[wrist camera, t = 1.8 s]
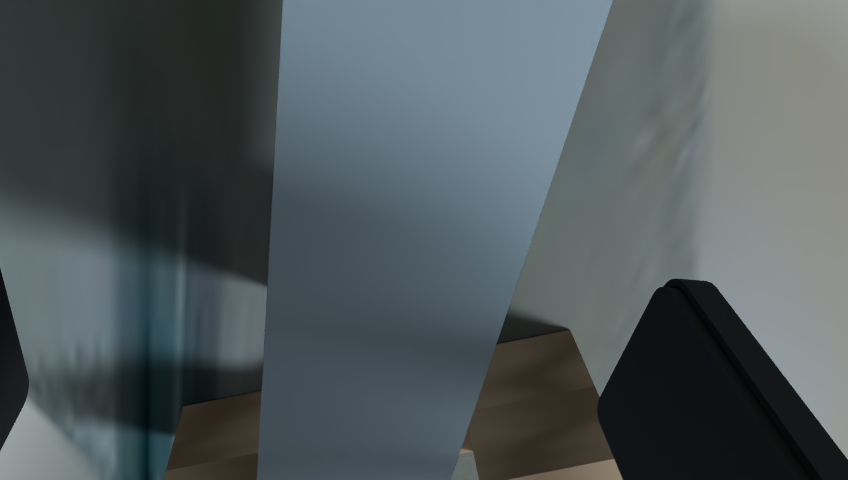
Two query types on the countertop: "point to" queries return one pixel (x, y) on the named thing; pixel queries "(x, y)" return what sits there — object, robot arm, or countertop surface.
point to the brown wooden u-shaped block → (486, 436)
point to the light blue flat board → (404, 219)
